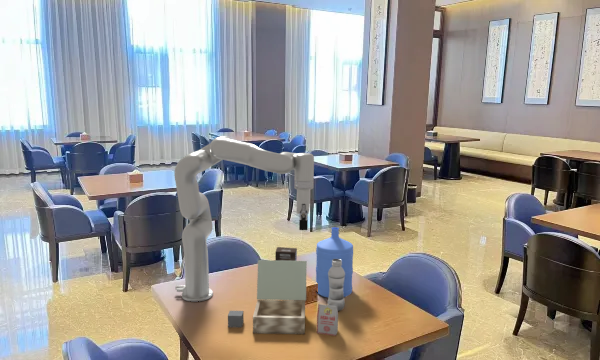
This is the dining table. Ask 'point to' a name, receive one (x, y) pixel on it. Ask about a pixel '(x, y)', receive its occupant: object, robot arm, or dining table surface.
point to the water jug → (325, 255)
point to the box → (279, 317)
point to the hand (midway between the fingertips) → (303, 226)
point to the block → (235, 319)
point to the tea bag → (327, 319)
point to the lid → (281, 280)
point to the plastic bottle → (336, 284)
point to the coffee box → (286, 254)
